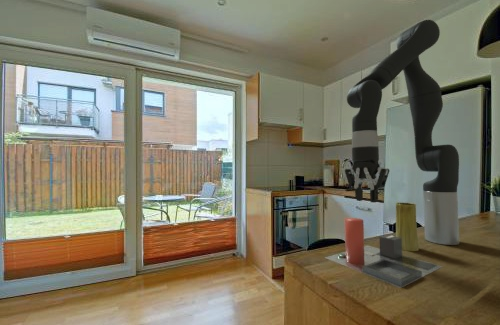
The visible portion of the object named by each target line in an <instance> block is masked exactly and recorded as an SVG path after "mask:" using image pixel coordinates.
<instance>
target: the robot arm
mask: <svg viewBox="0 0 500 325" xmlns="http://www.w3.org/2000/svg"><path fill="white" fill-rule="evenodd" d="M440 34H441V31H440V27H439V25H438V24H437V23H436V21H434V20H433V19H425V20H422V21H419V22H418V23H416V24H414V25H413V26H411V27H409V28H408V29H406V30H404V31H403V32H401V33H400V34H399V35H398V37H397V39H396V40H397V41H396V48H397V49H396V50H394V51H393V52H391V53H390V54H389V55H387V56H386V57H385V58H383V59H382V60H381V61H380V62H379V63H378V64H377V65H376V66H375V67H374V68H373V69H372V70H371V71H370V72H369V73H368V74H367V75H366V76H364V77H363V78H362V79H361V80H360V81H358V82H357V83H356V84H354V85H353V86H352V87H351V88H350V89H349V90H348V93H347V94H346V102H347V104H348V106H350V107H351V108H353V109H359V110H358V111H357V113H356V114H354V115H353V117H352V120H351V128H352V129H351V131H352V134H351V160H352V163H353V164H352V165H351V167H350V168H346V169H344V174H345V176H346V180H347V182H348V186H349V187H352V188H354V191H355V193H354V194H355V195H354V196H355V199H356V201H359V202H362V201H363V200H364V195H363V193H364V192H363V188H362V187H363V184H364V182H365V181H367V183H368V185H369V189H370V190H369V200H370V203H377V202H378V200H379V189H383V188H385V187H386V183H387V180H388V177H389V174H390V169H389V168H384V167H381V166H380V164H379V160H380V152H379V151H380V150H379V149H380V148H379V147H380V146H379V134H378V122H377V121H378V120H377V119H378V114H379V111H380V106H381V103H382V97H383V90H384V89H385V88H387V87H388V86H389V85H390V84H391V83H392V82H393V81H394V80H395V78H397V77H398V75H399V74H400V73H401V72H403V75H404V80H405V85H406V88H407V95H408V96H407V97H408V102H409V104H408V105H409V109H410V114H411V118H412V128H413V134H414V135H413V136H414V149H415V150H414V151H415V162H416V164H417V167H418V168H419V169H420V170H421V171H422V172H427V173H428V172H435V173H436V172H437V175H436V177H435V178H433V179H431V180H428V181H426V182H424V183H423V185H422V192H423V193H422V195H423V198H422V199H423V220H424V221H423V222H424V223H423V224H424V239H425V240H426V241H427V242H430V243H434V244H438V245H439V244H440V245H445V246H446V245H448V246H449V245H451V246H456V245H459V244H460V230H459V229H460V228H459V225H460V224H459V207H458V206H459V204H458V185H459V178H460V177H459V175H460V173H459V172H460V169H459V168H460V156H459V152H458V149H457V148H456V146H454V145H453V144H437V145H433V138H432V137H433V135H432V134H433V129H434V127H435V125H436V123H437V121H438V119H439V117H440V116H441V112H442V110H443V106H444V104H443V101H444V100H443V96H442V95H443V94H442V90H441V87H440V85H439V84H438V82H437V81H436V80H435V78H433V77H432V76H430V74H428V73H427V72H426V71H425V70H424V69H423V67H422V63H421V60H420V55H421V54H423V53H424V52H425V51H427V50H428V49H430V48H432V47H433V46H434V45H436V43H437V42H438V40H439V38H440ZM377 174H378V177H377Z"/></svg>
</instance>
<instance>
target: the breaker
mask: <svg viewBox="0 0 500 325" xmlns="http://www.w3.org/2000/svg"><path fill="white" fill-rule="evenodd" d="M378 239H379V249H380V255H383V256H387V257H390V258H393V259H395V258H398V257H401V256H402V255H403V250H402V238H399V237H396V235H390V234H385V235H382V236H379V238H378Z"/></svg>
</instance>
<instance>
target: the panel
mask: <svg viewBox="0 0 500 325" xmlns="http://www.w3.org/2000/svg"><path fill="white" fill-rule="evenodd" d="M324 259H327V260H329V261H332V262H334V263H336V264H339V265H342V266H344V267H347V268H350V269H351V270H354V271H356V272H360V273H362V274H364V275H367V276H369V277H371V278H375V279H378V280H379V281H382V282H384V283H387V284H389V285H392V286H395V287H397V288H399V289H401V288H403V287H406V286H408V285H410V284H411V283H414V282H415V281H418V280H420V279H422V278H423V277H425V276H427V275H429V274H431V273H433V272H435V271H437V270H439V269H442V268H443V266H442V265H438V264H435V263H432V262H429V261H424V260H421V259H417V258H413V257H410V256H407V255H403V254H402V256H401V257H398V258H395V259H393V258H390V257H387V256H383V255H380V247H379V248H378V247H375V246H372V245H368V244H367V245H364V263H363V264H352V263H349V262H347V261H346V251H343V252H339V253H335V254H333V255H329V256H325V257H324Z"/></svg>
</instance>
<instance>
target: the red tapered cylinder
mask: <svg viewBox="0 0 500 325" xmlns="http://www.w3.org/2000/svg"><path fill="white" fill-rule="evenodd" d="M364 230H365V229H364V219H362V218H357V217H345V218H344V232H345V233H344V239H345V243H344V244H345V246H344V247H345V252H346V261H347V262H349V263H352V264H363V263H364V246H365V237H364V236H365V231H364Z"/></svg>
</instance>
